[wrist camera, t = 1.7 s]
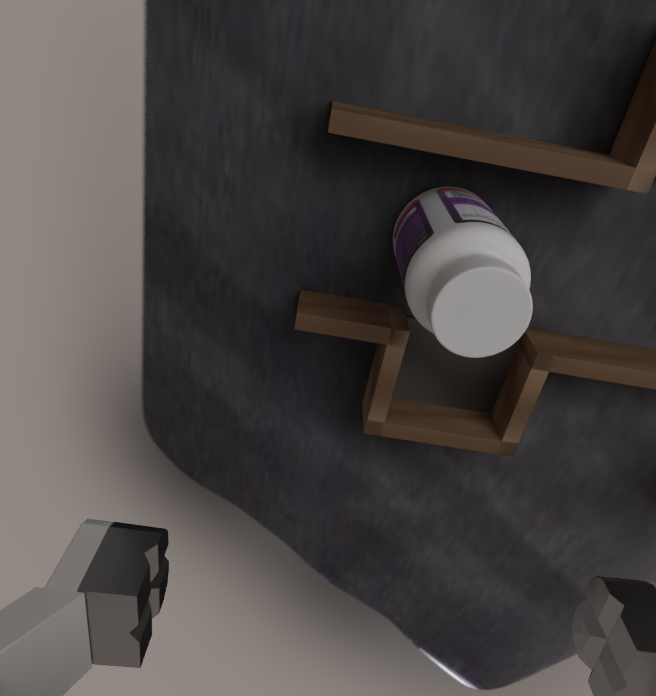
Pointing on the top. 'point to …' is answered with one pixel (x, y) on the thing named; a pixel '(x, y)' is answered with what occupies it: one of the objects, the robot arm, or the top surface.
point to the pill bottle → (462, 272)
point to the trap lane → (534, 345)
